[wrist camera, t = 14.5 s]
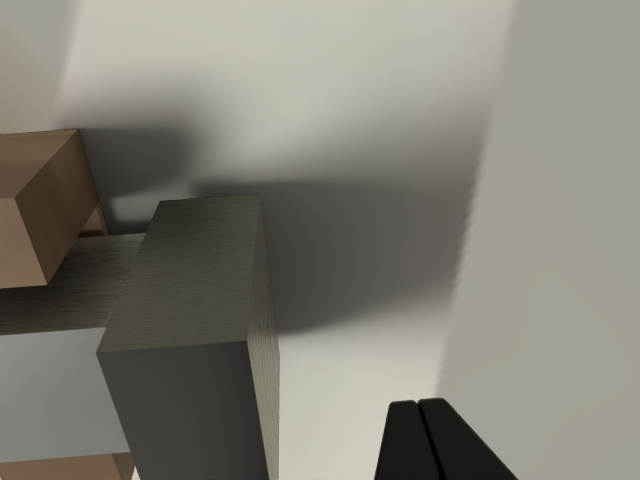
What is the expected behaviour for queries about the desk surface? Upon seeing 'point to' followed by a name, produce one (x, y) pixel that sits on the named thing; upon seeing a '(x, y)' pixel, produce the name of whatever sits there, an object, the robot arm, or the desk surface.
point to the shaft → (150, 349)
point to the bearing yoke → (49, 254)
